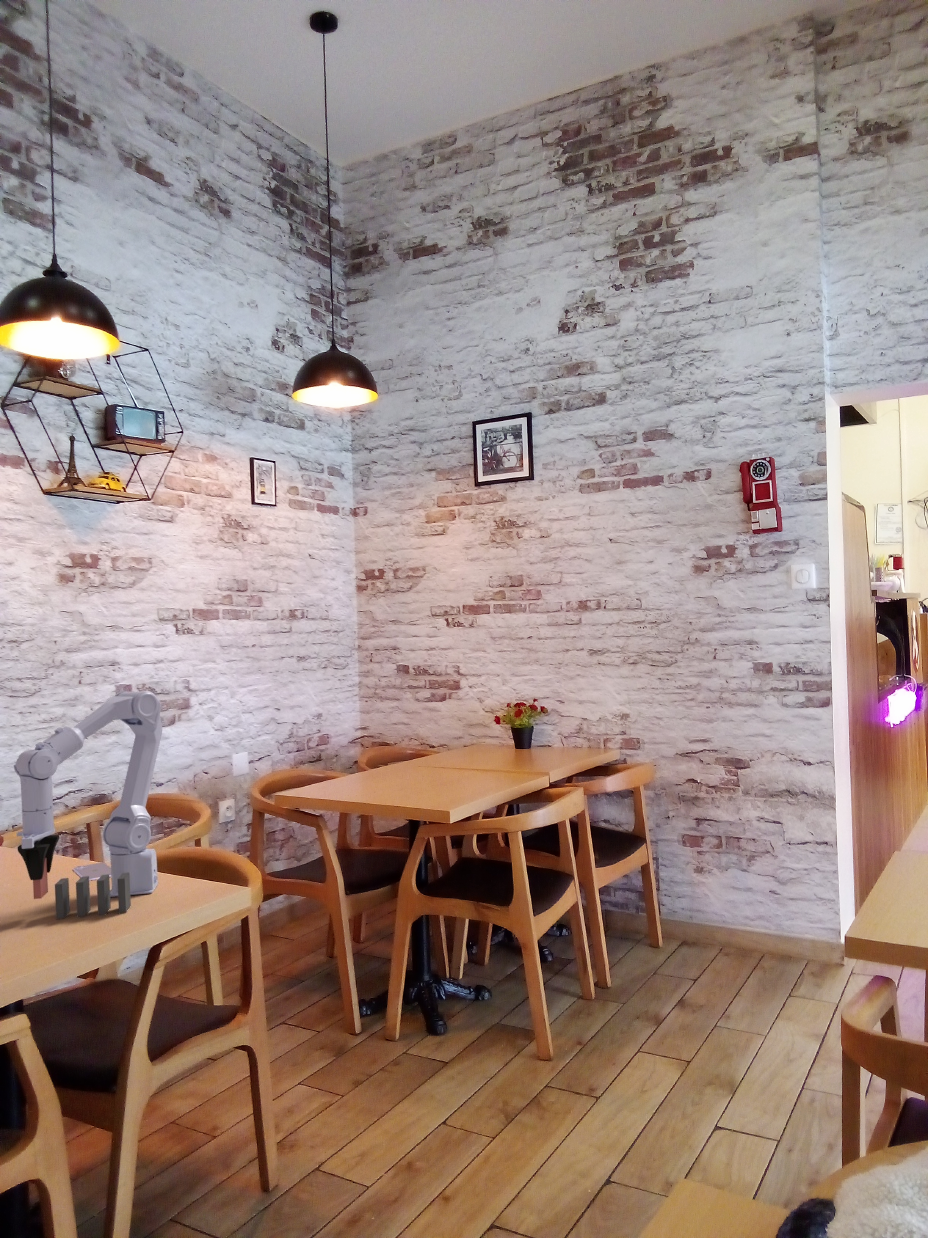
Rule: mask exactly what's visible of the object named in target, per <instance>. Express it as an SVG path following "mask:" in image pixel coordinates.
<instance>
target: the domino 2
mask: <svg viewBox="0 0 928 1238" xmlns="http://www.w3.org/2000/svg"><path fill="white" fill-rule="evenodd" d="M90 892H91V891H90V881H89V876H85V877H80V878H79V879H78V880H77V881H76V882H75V893H76V894H75V895H76V916H77V918H85V917H86V916H87V915H88V913H89V912H90V911H91V895H90V894H91V893H90Z"/></svg>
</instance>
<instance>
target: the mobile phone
mask: <svg viewBox="0 0 928 1238" xmlns="http://www.w3.org/2000/svg"><path fill="white" fill-rule="evenodd" d="M72 870H73V871H74V872H75V874H76V875H78V876H79V877H80V878H81V877H85V876H89V882H92V881H91V880H94V881H97V880H96V879H99V878H100V877H101V876H102V875H108V874H109V878H111V865H108V864H107V863H105V862H103V861H102V862H97V863H91V864H84V865H78V866H75V867H73V869H72Z"/></svg>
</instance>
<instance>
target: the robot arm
mask: <svg viewBox="0 0 928 1238" xmlns="http://www.w3.org/2000/svg"><path fill="white" fill-rule="evenodd" d="M162 706H163V704H162V703H161V700H159V698H158V697H157V695H156V694H155V693H153V692H152V691H150V690H148V691H147V690H144V691H127V690H121V691H118V692H117V693H116V694H115V695H113V696H110V697H109V698H108V699H107V700H106V701H105V702H104V703H102V704H101V705H100V706H99V707H98V708H97V709H95V710H94V711H93V712H91V713H90V714H89V715H87V716H86V717H85V718H83V719H82V720H81V721H80V722H79V723H78V724H76V725H75V726H73V727H72V726H64V727H56V729H55V730H54V734H52V735H51V736H49V737H48V738H47V739H45V740H43V741H42V742H41V741H38V742H37V743H36V744H35V747H34V749H27V750H24V751H22V752H21V753H20V754H19V756H18V758H16V761H15V764H14V765H13V769H14V772H15V773H16V775H17V776H19V777H18V778H19V781H20V792H21V793H20V798H21V800H20V801H21V817H22V818H21V821H22V830H20V831H18V832H16V837H21V841H20V842H21V844H20V845H18V846H17V852H18V853H19V855H20V856H21V858H22V859H23V861H24V864H25V867H26V870H27V874H28V877H29V880H30V881H33V880H40V879H42V878H43V873H44V863H45V858H47V874H48V873H49V874H50V873H51V869H52V864H53V858H54V853H55V850H56V846H57V844H58V843H59V840H60V834H56V828H55V827H56V826H55V820H54V800H53V797H54V796H53V779H52V777H53V775H55V773H57V770H58V766H59V765H60V764H62V763H64V762H65V761H66V760H68V759H70V757H72V756H73V755H74V754H75V753H77V752H78V751H80V750H81V749H83V747H84V741H85V740H86V739H87V738H89V737H91V736H92V735H93V734H95V733H97V732H98V731H99V730H101V729H102V728H104V727H106V726H107V725H109V724H110V723H112V722H113V721H117V720H120V721H121V722H123V723H124V724H126V725H127V726H128V727H129V728H130V729H131V731H132V732H133V733H134V741H133V744H132V749H131V750H132V751H131V753H130V759H129V761H128V765H127V771H126V775H125V779H124V784H123V788H122V793H121V796H120V801H119V802H120V803H119V805H118V806H116V808H114V810H112V812H111V814H110V816H109V819H108V822H107V823H106V824H105V826H104V828H103V830H102V839H103V842H104V843H105V845H107V846H108V849H109V850H108V851H109V853H110V854H109V855H110V860H109V861H110V867H111V877H110V878H111V879H110V880H111V888H110V898H111V897H112V898H113V897H118V880H117V879H118V878H119V877H120V875H121V874H122V873H129V874H130V896H133V895H142V894H143V895H144V894H152V893H153V892H154V891H155V889H156V887H157V886H158V884H159V880H158V861H157V860H158V859H157V852H156V849H155V848H147V846H148V845H149V843H150V841H151V839H152V830H151V821H152V818H151V815H150V814H149V813H148V810H147V808H146V806H147V801H148V798H149V793H150V789H151V783H152V778H153V775H154V769H155V766H156V761H157V757H158V753H159V747H160V743H161V738H162V734H163V724H162V719H161V710H162Z"/></svg>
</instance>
